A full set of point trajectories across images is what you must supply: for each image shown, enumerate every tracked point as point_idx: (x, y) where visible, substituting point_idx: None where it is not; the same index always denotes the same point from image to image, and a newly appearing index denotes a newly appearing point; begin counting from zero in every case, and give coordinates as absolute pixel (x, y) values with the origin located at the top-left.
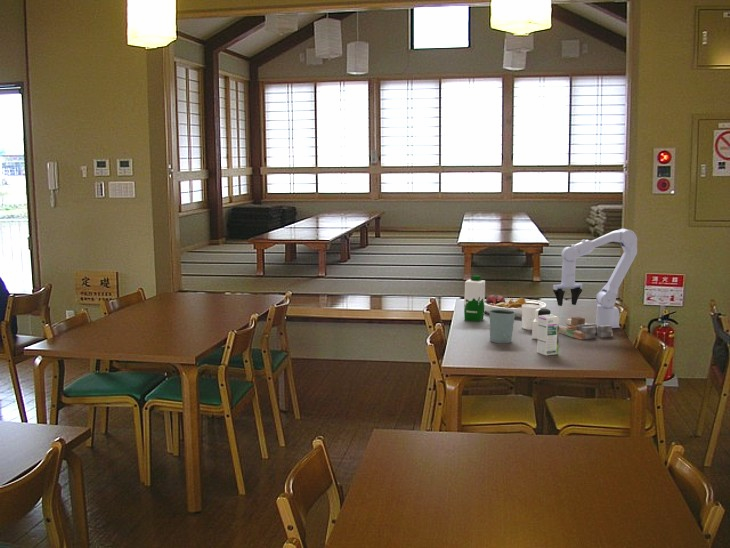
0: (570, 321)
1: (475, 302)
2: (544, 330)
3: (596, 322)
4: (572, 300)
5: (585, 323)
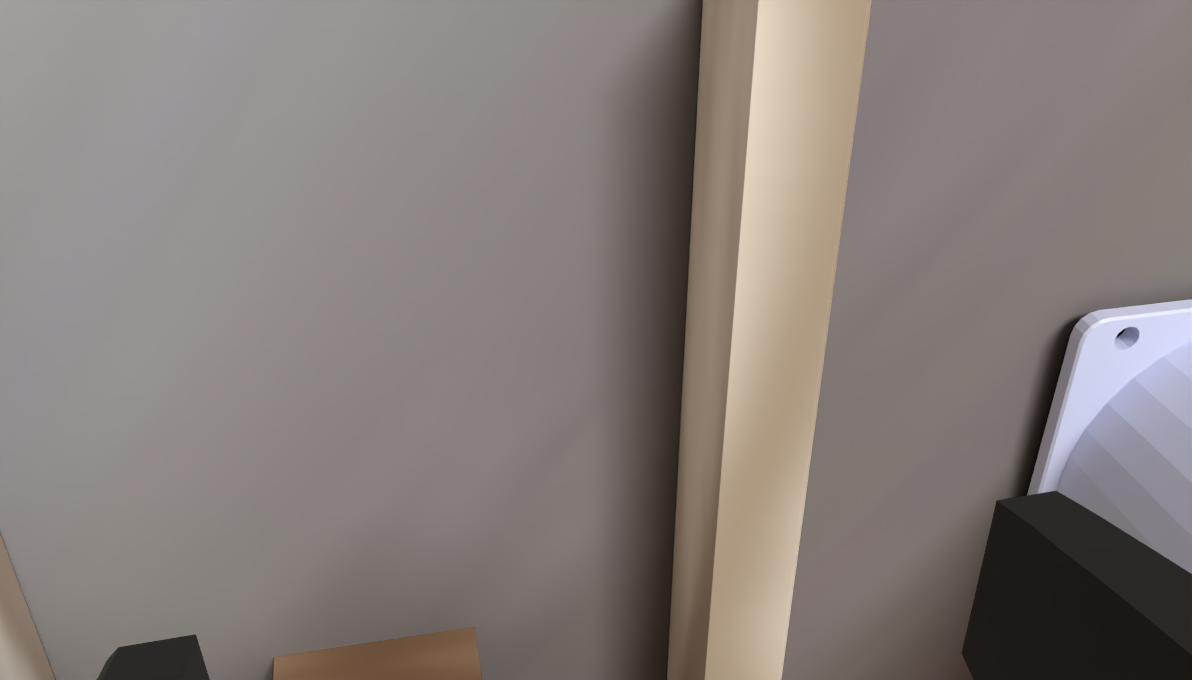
0: (728, 153)
1: None
2: None
3: (1125, 471)
4: (1111, 669)
5: (754, 615)
